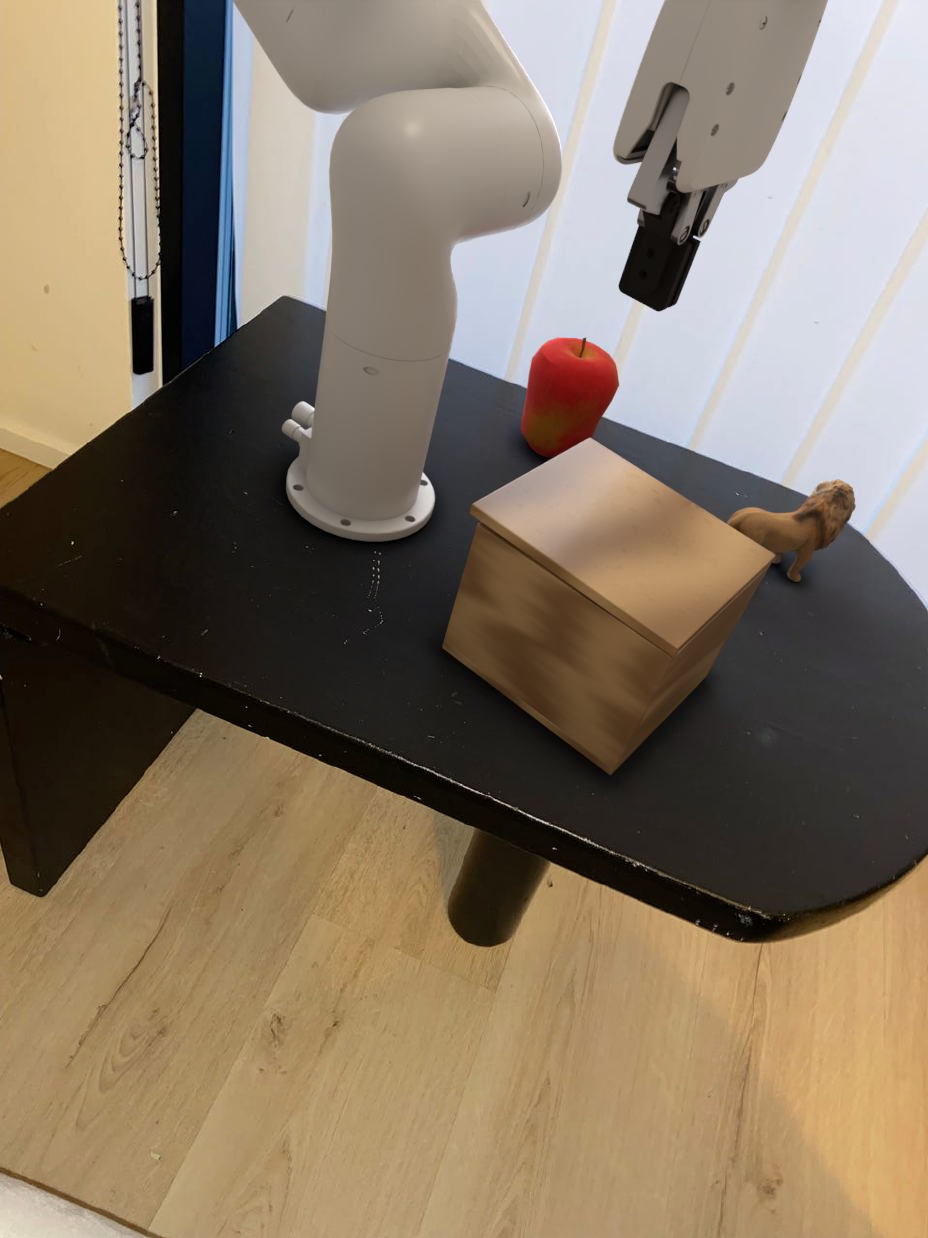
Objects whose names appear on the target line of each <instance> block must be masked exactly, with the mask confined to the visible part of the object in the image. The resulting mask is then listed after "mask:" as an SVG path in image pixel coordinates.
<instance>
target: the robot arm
mask: <svg viewBox="0 0 928 1238" xmlns="http://www.w3.org/2000/svg"><path fill="white" fill-rule="evenodd" d="M231 1H232V3H233V4H234V5H235V7H236V8H237V10H238V12H239V14H240V15H241V17H242V18H243V20H244V21H245V23H246V25H247V26H248V28H249V29H250V31H251V33H252V34H253V36H254V37H255V39H256V40H257V42H258V43H259V46H260V47H261V48H262V51H263V52H264V53H265V55H266V57H267V58H268V59H269V61H270V63H271V64H272V66H273V68H274V69H275V71H276V72H277V74H278V75H279V77H280V78H281V80H282V82H283V83H284V84H285V86H286V87H287V88H288V90H289V91H290V92H291V94H293V96H294V97H295V98H296V100H298V101H299V102H300V103H301V104H302V105H303V106H305V107H306V108H307V109H309V110H311V111H313V112H316V113H319V114H323V115H330V116H346V117H345V119H344V120H343V121H342V123H340V125H339V127H338V129H337V131H336V133H335V135H334V137H333V140H332V143H331V146H330V147H331V148H330V153H329V159H328V161H329V162H328V189H329V199H330V200H329V201H330V214H331V215H330V216H331V263H330V275H329V286H328V294H327V302H326V310H325V323H324V329H323V330H324V331H323V339H322V344H321V345H322V346H321V354H320V361H319V369H318V378H317V386H316V394H315V401H314V407H313V406H312V405H310V404H309V403H307V402H306V401H303V400H302V401H299V402H298V403H297V404H295V406H294V408H293V409H292V412H291V419H287V420H285V421H284V423H283V424H282V426H281V432H282V433H283V434H284V435H286V436H287V437H288V438H290V439H291V440H292V441H294V442H295V441H296V442H297V443H298V447H299V453H298V457H296V458H295V459H294V460H293V461H292V462H291V464H290V466H289V468H288V470H287V475H286V480H285V491H286V495H287V498H288V501H289V502H290V504H291V506H292V508H293V509H294V510H295V511H296V512H297V513H298V514H299V515H300V516H301V517H302V518H303V519H305V520H306V521H307V522H308V523H310V524H311V525H313V526H315V527H317V528H318V529H320V530H322V531H324V532H326V533H329V534H332V535H334V536H336V537H340V538H345V539H349V540H352V541H360V542H388V541H395V540H399V539H402V538H406V537H408V536H411V535H413V534H414V533H417V532H419V531H420V530H421V529H422V528H423V527H425V526H426V525H427V523H428V522H429V520H430V519H431V517H432V514H433V511H434V507H435V503H436V494H435V489H434V486H433V483H432V482H431V480H430V479H429V478H428V476H427V475H426V474H425V473H424V469H425V468H424V467H425V464H426V460H427V455H428V451H429V448H430V447H429V446H430V442H431V438H432V434H433V429H434V426H435V421H436V416H437V412H438V408H439V407H438V406H439V403H440V400H441V399H440V398H441V394H442V390H443V385H444V381H445V376H446V373H447V368H448V363H449V358H450V354H451V350H452V346H453V340H454V337H455V332H456V326H457V321H458V313H459V298H458V290H457V285H456V282H455V277H454V274H453V270H452V269H453V268H452V263H451V261H452V260H451V258H452V257H451V256H452V252H453V250H454V248H455V247H456V246H457V245H459V244H462V243H466V242H470V241H472V240H476V239H481V238H485V237H490V236H494V235H499V234H502V233H503V234H504V233H506V232H511V231H515V230H517V229H520V228H524V227H525V226H527V225H529V224H531V223H533V222H535V221H536V220H537V219H539V218H540V217H541V216H542V215H543V214H544V213H545V212H546V211H548V209H549V207H551V205H552V203H553V202H554V200H555V198H556V196H557V194H558V191H559V189H560V185H561V182H562V181H561V180H562V175H563V165H564V162H563V149H562V144H561V138H560V135H559V132H558V129H557V126H556V122H555V121H554V119H553V116H552V114H551V112H550V109H549V107H548V105H547V104H546V102H545V100H544V99H543V97H542V95H541V93H540V92H539V90H538V89H537V87H536V86H535V84H534V82H533V81H532V79H531V78H530V76H529V75H528V72H527V71H526V69H525V68H524V66H523V65H522V64H521V63H522V62H520V60H519V57H517V55H516V54H515V52H514V51H513V49H512V48H511V45H510V44H509V43H508V41H507V39H506V38H505V36H504V35H503V33H502V32H501V30H500V28H499V27H498V25H497V24H496V22H495V21H494V19H493V18H492V16H491V14H490V13H489V11H488V10H487V8H486V7H485V5H484V3H483V2H482V0H231ZM828 1H829V0H664V1H663V3H662V6H661V8H660V11H659V13H658V15H657V18H656V20H655V23H654V25H653V27H652V31H651V33H650V36H649V39H648V41H647V43H646V46H645V50H644V51H643V54H642V57H641V60H640V63H639V66H638V68H637V71H636V74H635V77H634V80H633V81H632V82H633V83H632V86H631V88H630V91H629V95H628V97H627V100H626V103H625V106H624V109H623V112H622V114H621V118H620V121H619V124H618V127H617V131H616V133H615V137H614V140H613V145H612V155H613V158H614V160H615V161H616V162H617V163H619V164H621V165H624V166H627V165H628V166H629V165H634V164H635V165H636V164H639V163H640V165H639V168H638V170H637V172H636V174H635V177H634V179H633V181H632V184H631V186H630V189H629V191H628V193H627V195H626V196H627V197H626V202H627V203H628V204H630V205H632V206H634V207H636V208H638V209H639V211H638V214H637V219H636V224H637V229H636V232H635V235H634V238H633V240H632V243H631V247H630V249H629V252H628V256H627V259H626V262H625V264H624V268H623V270H622V273H621V276H620V279H619V282H618V290H619V292H620V293H622V294H624V295H625V296H627V297H629V298H631V299H633V300H635V301H636V302H638V303H640V304H642V305H644V306H646V307H648V308H650V309H652V310H653V311H655V312H658V313H659V312H662V311H665V310H667V309H668V308H671V307H674V306H676V304H677V303H678V301H679V298H680V296H681V294H682V291H683V288H684V286H685V283H686V281H687V278H688V275H689V273H690V271H691V268H692V266H693V262H694V260H695V257H696V255H697V252H698V250H699V248H700V245H701V243H702V241H701V240H699V239H702V238H703V237H704V236H705V235H706V233H707V232H708V230H709V228H710V225H711V224H712V221H713V219H714V217H715V215H716V212H717V210H718V207H719V206H720V203H721V201H722V199H723V197H724V195H725V193H727V192H728V191H730V190H731V189H732V188H734V187H735V186H736V184H737V183H738V181H739V179H742V178H745V177H748V176H750V175H752V174H755V173H756V172H757V171H759V170H760V169H761V167H762V166H763V165H764V163H766V160H767V158H768V157H769V155H770V153H771V151H772V149H773V147H774V145H775V142H776V141H777V138H778V136H779V133H780V131H781V129H782V127H783V124H784V121H785V120H786V117H787V114H788V112H789V110H790V107H791V105H792V103H793V98H794V97H795V95H796V92H797V90H798V88H799V87H798V86H799V84H800V81H801V79H802V76H803V73H804V70H805V68H806V65H807V62H808V60H809V57H810V54H811V52H812V49H813V46H814V43H815V40H816V37H817V35H818V31H819V28H820V26H821V23H822V20H823V18H824V14H825V11H826V8H827V5H828Z"/></svg>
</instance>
